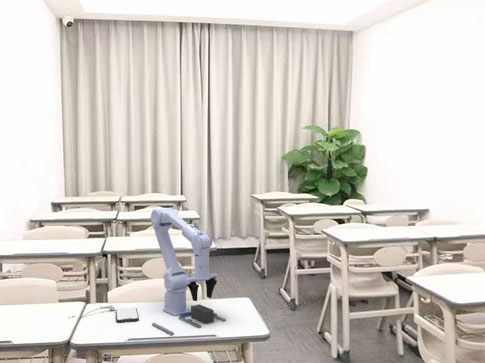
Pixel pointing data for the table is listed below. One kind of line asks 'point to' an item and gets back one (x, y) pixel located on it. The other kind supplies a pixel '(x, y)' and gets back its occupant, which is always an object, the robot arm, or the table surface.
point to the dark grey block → (202, 314)
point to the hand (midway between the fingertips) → (202, 299)
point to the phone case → (127, 315)
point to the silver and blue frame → (189, 321)
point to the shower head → (103, 308)
